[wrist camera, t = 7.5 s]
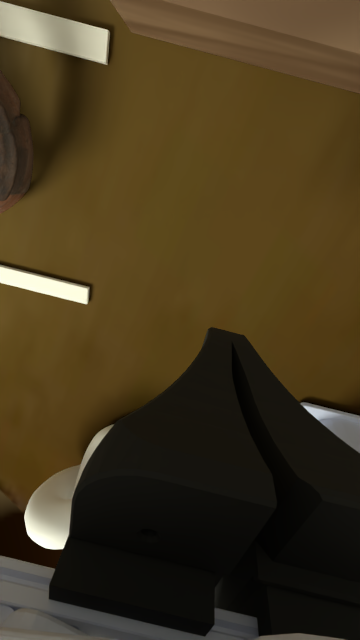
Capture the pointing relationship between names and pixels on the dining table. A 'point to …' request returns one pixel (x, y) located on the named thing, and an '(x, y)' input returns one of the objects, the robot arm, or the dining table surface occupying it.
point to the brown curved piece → (13, 147)
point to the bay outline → (66, 40)
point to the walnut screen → (260, 33)
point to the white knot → (56, 502)
